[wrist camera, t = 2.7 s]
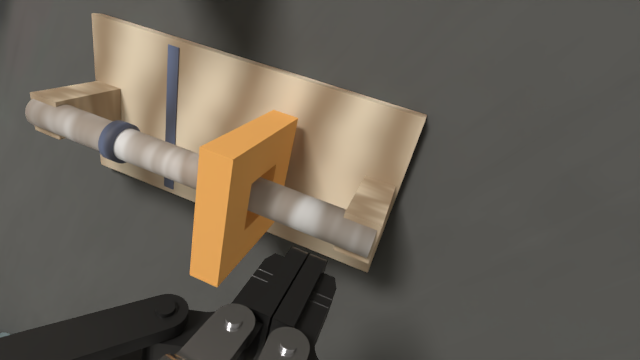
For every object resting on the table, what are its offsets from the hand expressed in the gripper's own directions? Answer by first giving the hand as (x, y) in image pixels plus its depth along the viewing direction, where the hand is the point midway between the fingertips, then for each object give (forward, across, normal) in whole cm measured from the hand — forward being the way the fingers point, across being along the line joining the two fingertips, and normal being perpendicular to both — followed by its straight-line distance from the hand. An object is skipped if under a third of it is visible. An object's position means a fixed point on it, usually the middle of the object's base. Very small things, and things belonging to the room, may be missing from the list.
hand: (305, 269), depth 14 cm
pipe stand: (+15, +11, +3) cm, 19 cm away
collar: (+13, +7, +3) cm, 15 cm away
